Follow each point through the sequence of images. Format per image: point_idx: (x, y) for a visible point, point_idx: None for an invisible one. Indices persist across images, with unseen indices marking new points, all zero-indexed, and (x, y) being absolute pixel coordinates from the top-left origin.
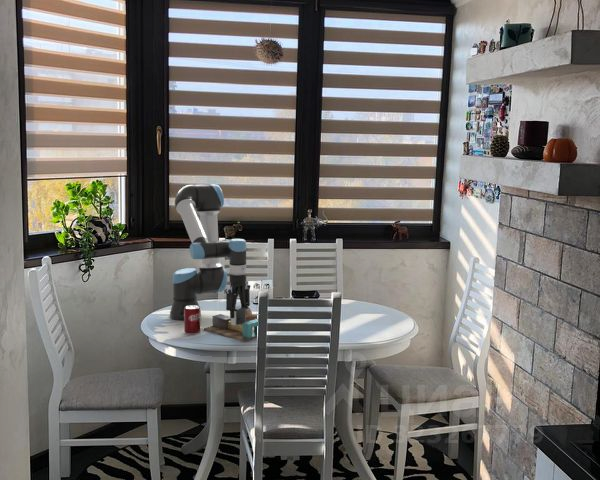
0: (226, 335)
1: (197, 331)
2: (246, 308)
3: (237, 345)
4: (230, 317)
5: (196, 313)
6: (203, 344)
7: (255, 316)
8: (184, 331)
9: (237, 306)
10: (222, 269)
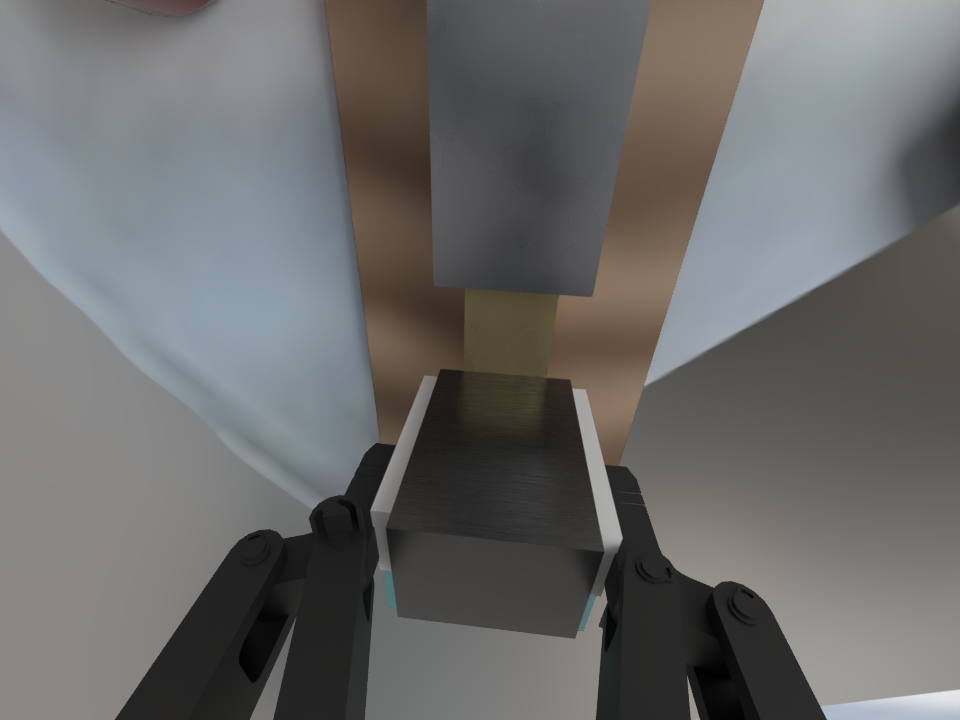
0: (371, 341)
1: (152, 13)
2: (603, 615)
3: (315, 492)
4: (372, 449)
5: None
6: (126, 335)
7: None
8: None
9: (553, 549)
10: None
